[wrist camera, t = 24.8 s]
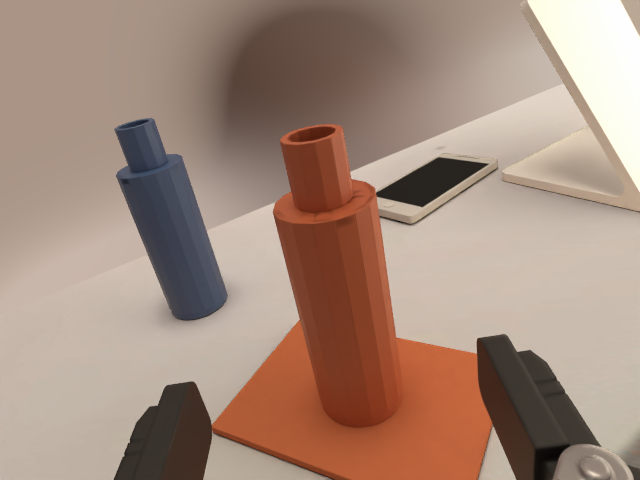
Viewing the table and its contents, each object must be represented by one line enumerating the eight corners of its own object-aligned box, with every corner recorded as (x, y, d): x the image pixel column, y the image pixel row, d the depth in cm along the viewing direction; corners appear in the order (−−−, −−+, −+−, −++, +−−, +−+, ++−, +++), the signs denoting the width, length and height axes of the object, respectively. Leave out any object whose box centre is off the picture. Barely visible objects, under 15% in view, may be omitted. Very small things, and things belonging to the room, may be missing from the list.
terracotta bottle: (340, 441, 24) (274, 162, 17) (310, 383, 28) (246, 137, 21) (419, 405, 25) (386, 129, 18) (379, 354, 29) (339, 111, 22)
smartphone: (357, 210, 49) (355, 201, 49) (444, 159, 57) (444, 151, 57) (412, 225, 44) (411, 215, 44) (499, 166, 52) (499, 158, 52)
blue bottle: (202, 324, 36) (130, 134, 29) (160, 314, 39) (85, 135, 32) (238, 290, 40) (181, 112, 33) (198, 283, 42) (137, 115, 35)
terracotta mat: (464, 529, 20) (463, 522, 20) (212, 432, 27) (210, 426, 27) (508, 366, 27) (508, 359, 27) (301, 323, 34) (300, 318, 34)
